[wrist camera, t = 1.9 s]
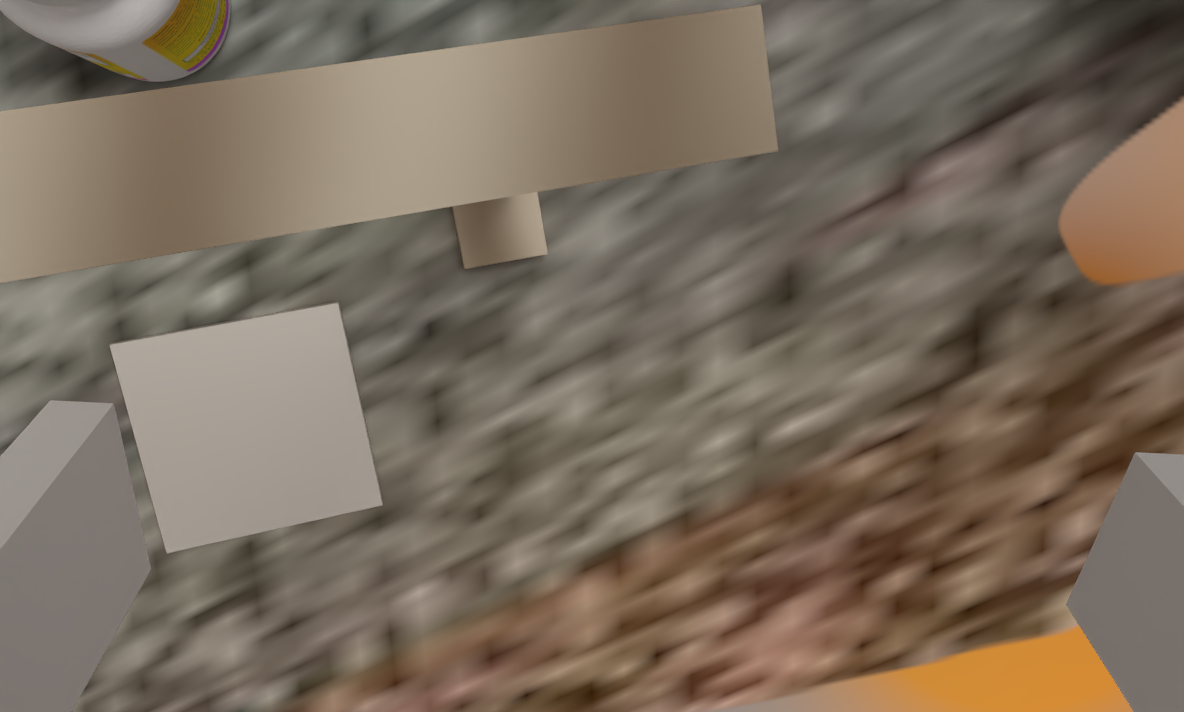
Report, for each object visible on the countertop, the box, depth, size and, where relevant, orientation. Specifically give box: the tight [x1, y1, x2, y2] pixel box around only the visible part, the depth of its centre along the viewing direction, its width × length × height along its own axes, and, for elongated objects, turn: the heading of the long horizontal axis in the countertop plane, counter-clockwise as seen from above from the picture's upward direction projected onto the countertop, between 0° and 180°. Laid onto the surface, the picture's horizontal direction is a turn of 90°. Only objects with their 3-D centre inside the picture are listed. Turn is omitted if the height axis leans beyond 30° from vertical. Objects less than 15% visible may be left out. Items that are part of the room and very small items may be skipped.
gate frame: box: [0, 5, 778, 283], centre depth 26 cm, size 30×9×32 cm, turn 99°
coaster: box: [110, 301, 383, 553], centre depth 43 cm, size 10×10×1 cm
